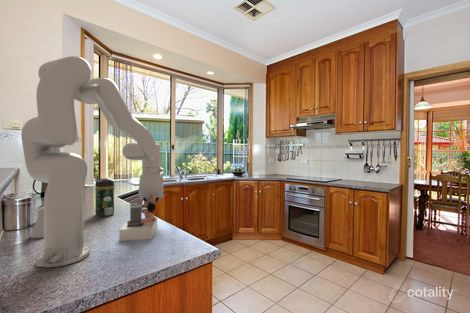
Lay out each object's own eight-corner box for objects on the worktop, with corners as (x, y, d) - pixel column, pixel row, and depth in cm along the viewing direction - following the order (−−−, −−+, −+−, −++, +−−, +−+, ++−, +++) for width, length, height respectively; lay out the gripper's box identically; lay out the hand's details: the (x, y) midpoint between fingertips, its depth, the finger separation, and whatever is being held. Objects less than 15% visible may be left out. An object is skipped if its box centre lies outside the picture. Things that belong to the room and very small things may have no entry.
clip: (133, 212, 98) (133, 208, 98) (146, 210, 102) (146, 207, 102) (142, 223, 84) (142, 218, 84) (157, 220, 87) (157, 216, 87)
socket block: (151, 238, 84) (151, 223, 84) (119, 240, 82) (119, 225, 81) (157, 226, 97) (157, 213, 97) (129, 228, 95) (129, 214, 95)
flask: (40, 239, 82) (40, 212, 82) (24, 238, 83) (24, 211, 83) (59, 233, 89) (59, 207, 89) (44, 231, 90) (44, 206, 90)
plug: (142, 237, 85) (142, 205, 85) (125, 238, 84) (125, 205, 84) (145, 231, 91) (145, 202, 91) (129, 232, 90) (129, 202, 90)
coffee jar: (93, 214, 117) (93, 178, 117) (110, 211, 122) (110, 177, 122) (98, 218, 110) (98, 179, 109) (115, 215, 115) (116, 178, 115)
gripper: (169, 170, 106) (169, 209, 106) (135, 170, 103) (135, 210, 103) (167, 171, 98) (167, 213, 99) (131, 172, 95) (131, 215, 96)
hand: (151, 212), depth 101 cm, fingers closed
